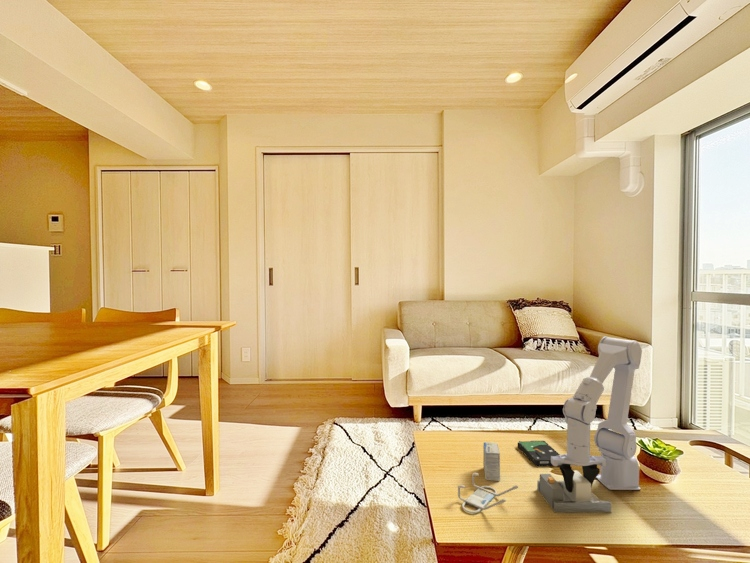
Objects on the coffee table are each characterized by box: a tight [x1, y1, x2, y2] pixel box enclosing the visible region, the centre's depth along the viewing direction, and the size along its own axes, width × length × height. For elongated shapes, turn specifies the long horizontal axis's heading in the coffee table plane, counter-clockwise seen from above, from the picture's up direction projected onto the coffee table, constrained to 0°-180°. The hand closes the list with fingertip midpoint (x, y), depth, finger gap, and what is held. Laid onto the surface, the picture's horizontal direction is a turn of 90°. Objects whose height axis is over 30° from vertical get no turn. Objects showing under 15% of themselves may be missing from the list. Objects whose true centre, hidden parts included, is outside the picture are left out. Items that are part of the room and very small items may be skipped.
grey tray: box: [536, 480, 612, 514], centre depth 109 cm, size 15×11×3 cm
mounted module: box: [539, 473, 564, 507], centre depth 109 cm, size 3×8×6 cm, turn 0°
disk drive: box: [517, 440, 561, 467], centre depth 136 cm, size 10×3×15 cm
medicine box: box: [482, 441, 501, 482], centre depth 122 cm, size 8×4×9 cm, turn 169°
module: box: [563, 470, 592, 501], centre depth 109 cm, size 4×7×6 cm, turn 0°
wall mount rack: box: [457, 472, 519, 514], centre depth 107 cm, size 16×14×6 cm
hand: (577, 490), depth 109 cm, fingers open, 4 cm apart
